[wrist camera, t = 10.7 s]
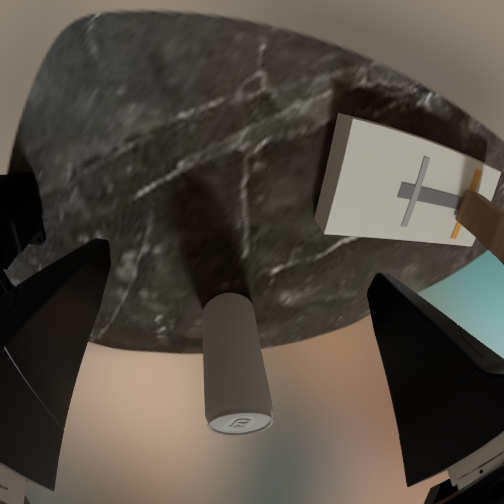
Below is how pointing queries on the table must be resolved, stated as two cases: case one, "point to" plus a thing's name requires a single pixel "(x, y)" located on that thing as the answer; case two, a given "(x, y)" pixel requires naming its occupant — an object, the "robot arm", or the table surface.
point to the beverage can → (234, 368)
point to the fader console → (397, 185)
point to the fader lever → (483, 221)
